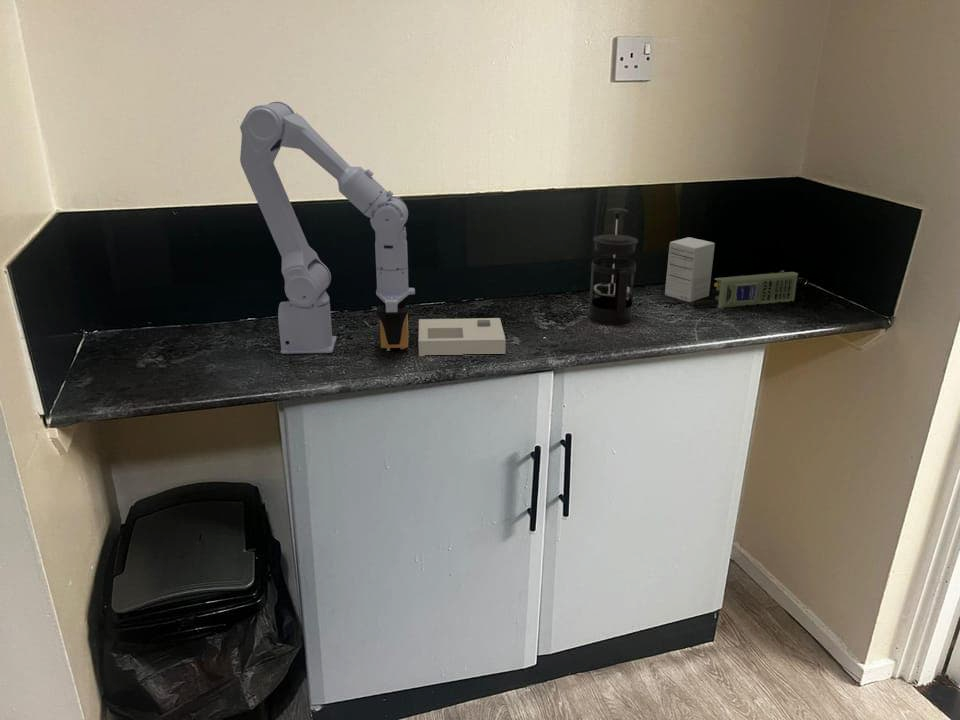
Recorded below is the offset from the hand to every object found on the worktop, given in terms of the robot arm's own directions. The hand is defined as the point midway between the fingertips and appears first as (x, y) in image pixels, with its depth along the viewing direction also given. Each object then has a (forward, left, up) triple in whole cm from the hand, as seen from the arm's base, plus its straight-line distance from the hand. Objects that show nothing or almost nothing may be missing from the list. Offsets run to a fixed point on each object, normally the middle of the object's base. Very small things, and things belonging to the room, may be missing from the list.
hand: (394, 336), depth 145 cm
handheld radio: (+76, +24, -3) cm, 80 cm away
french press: (+44, +15, -3) cm, 47 cm away
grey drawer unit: (+65, +30, -3) cm, 72 cm away
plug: (0, 0, -2) cm, 2 cm away
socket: (+12, +2, -2) cm, 13 cm away
